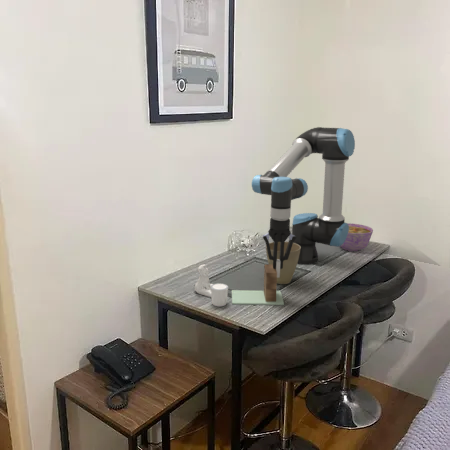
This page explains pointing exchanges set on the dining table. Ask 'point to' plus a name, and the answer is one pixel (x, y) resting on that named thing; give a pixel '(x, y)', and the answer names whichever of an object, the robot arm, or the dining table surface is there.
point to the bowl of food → (357, 237)
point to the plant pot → (286, 262)
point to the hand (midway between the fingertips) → (277, 276)
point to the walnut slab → (270, 283)
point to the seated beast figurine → (203, 281)
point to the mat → (254, 298)
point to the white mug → (219, 294)
